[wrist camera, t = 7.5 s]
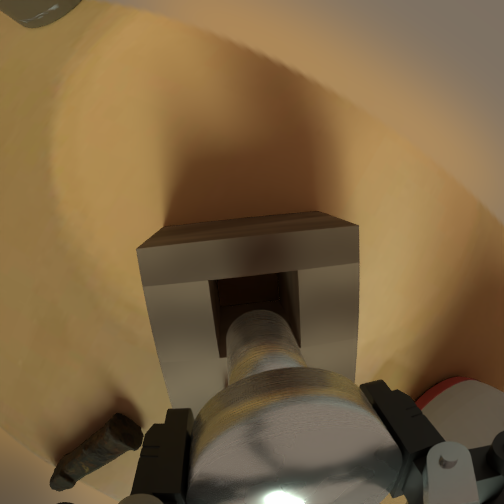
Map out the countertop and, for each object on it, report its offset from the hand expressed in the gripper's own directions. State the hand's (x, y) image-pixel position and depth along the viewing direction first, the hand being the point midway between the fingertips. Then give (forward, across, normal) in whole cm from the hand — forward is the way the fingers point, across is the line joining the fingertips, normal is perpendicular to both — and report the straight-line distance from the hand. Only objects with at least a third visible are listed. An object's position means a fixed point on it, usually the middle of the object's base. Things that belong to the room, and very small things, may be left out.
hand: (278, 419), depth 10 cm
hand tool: (+17, +20, +20) cm, 33 cm away
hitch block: (+16, 0, +3) cm, 17 cm away
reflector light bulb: (+6, 0, 0) cm, 6 cm away
